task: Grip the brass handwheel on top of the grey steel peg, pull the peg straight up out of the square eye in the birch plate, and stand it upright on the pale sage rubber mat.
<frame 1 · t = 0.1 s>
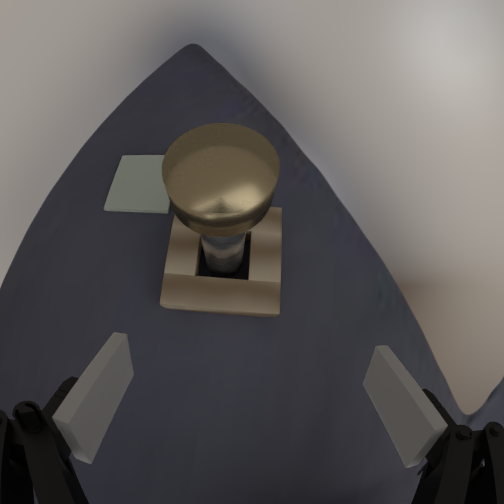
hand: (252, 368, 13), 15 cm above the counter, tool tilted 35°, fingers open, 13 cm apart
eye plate: (224, 260, 31), on the counter
rubber mat: (143, 183, 35), on the counter
steel peg: (222, 226, 24), in the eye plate
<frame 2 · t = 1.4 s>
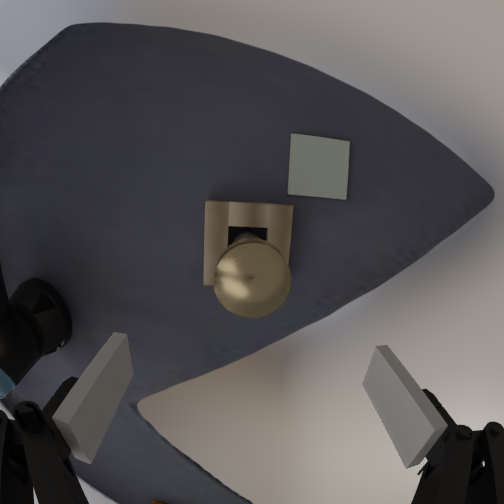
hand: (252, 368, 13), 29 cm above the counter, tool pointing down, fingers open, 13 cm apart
orange pill bottle: (160, 503, 63), on the counter
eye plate: (246, 242, 41), on the counter
rubber mat: (319, 166, 39), on the counter
steel peg: (248, 257, 33), in the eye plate
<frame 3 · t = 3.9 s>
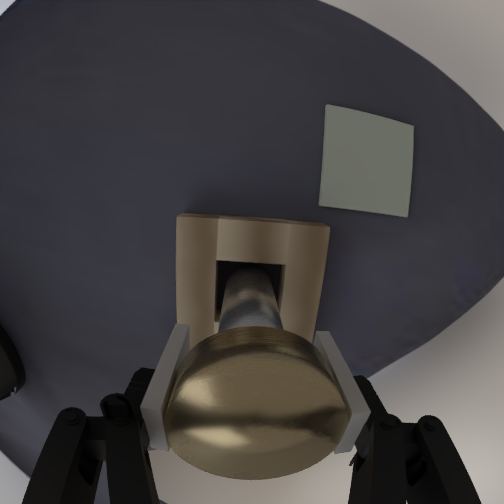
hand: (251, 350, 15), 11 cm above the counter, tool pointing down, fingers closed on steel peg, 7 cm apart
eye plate: (248, 284, 25), on the counter
rubber mat: (369, 162, 23), on the counter
steel peg: (250, 331, 17), in the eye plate, touching gripper
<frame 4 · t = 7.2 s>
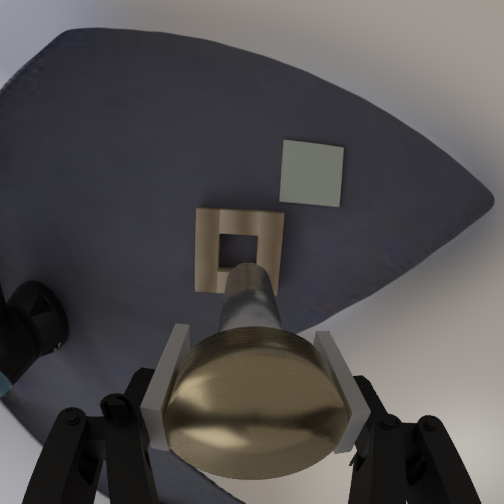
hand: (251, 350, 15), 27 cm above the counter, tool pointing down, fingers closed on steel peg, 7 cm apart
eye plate: (238, 249, 42), on the counter
rubber mat: (311, 173, 39), on the counter
steel peg: (250, 332, 17), point 25 cm above the counter, touching gripper
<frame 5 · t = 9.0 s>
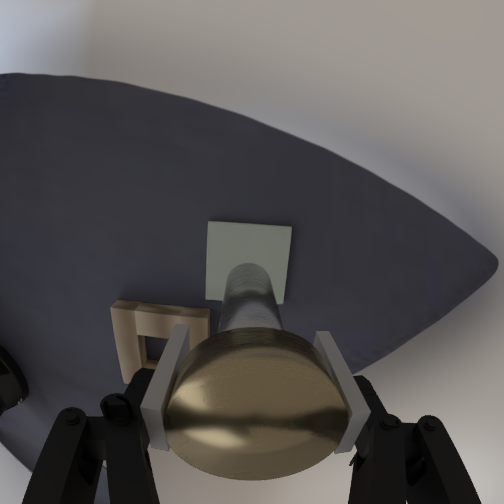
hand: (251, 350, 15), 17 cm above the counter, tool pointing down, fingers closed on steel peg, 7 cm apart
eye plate: (164, 345, 34), on the counter
rubber mat: (247, 263, 32), on the counter
steel peg: (250, 332, 17), point 15 cm above the counter, touching gripper
when the fingers open (12 cm above the counter, at t = 10.5 s): steel peg drops 1 cm, resting on rubber mat.
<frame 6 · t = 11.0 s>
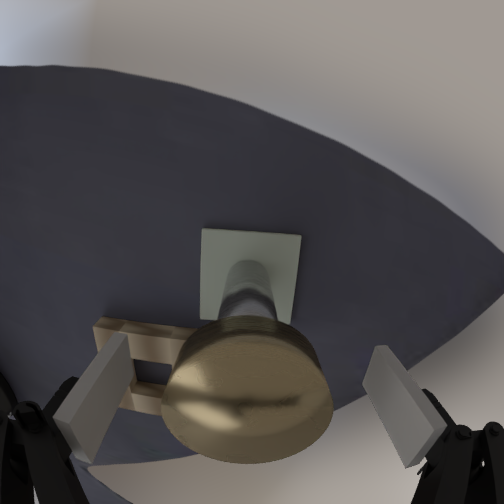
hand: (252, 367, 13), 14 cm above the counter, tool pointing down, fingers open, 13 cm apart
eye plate: (155, 367, 29), on the counter
rubber mat: (248, 277, 27), on the counter
steel peg: (247, 324, 18), on the rubber mat, point 9 cm above the counter
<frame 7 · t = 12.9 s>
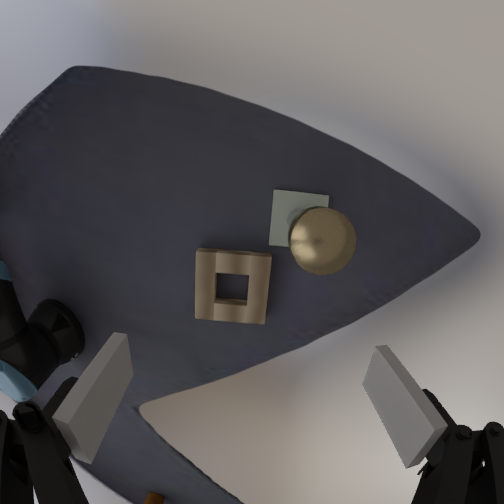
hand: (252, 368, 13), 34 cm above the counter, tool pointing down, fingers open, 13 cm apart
orange pill bottle: (156, 495, 71), on the counter
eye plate: (232, 284, 48), on the counter
rubber mat: (298, 219, 45), on the counter
steel peg: (309, 229, 36), on the rubber mat, point 9 cm above the counter
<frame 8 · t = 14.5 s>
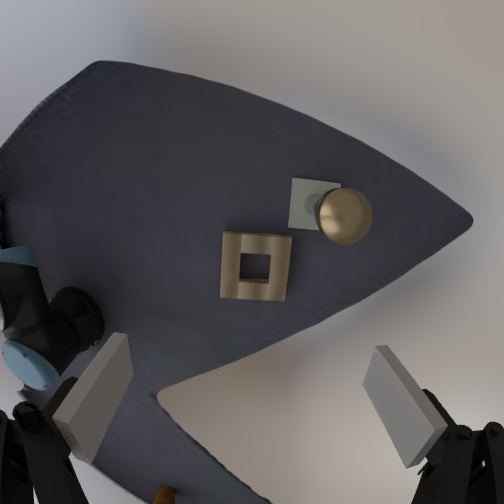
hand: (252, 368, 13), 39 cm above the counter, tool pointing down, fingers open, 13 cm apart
orange pill bottle: (167, 489, 74), on the counter
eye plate: (254, 264, 52), on the counter
rubber mat: (314, 204, 50), on the counter
steel peg: (328, 209, 41), on the rubber mat, point 9 cm above the counter
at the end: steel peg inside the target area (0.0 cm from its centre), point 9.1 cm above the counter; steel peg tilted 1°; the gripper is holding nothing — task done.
